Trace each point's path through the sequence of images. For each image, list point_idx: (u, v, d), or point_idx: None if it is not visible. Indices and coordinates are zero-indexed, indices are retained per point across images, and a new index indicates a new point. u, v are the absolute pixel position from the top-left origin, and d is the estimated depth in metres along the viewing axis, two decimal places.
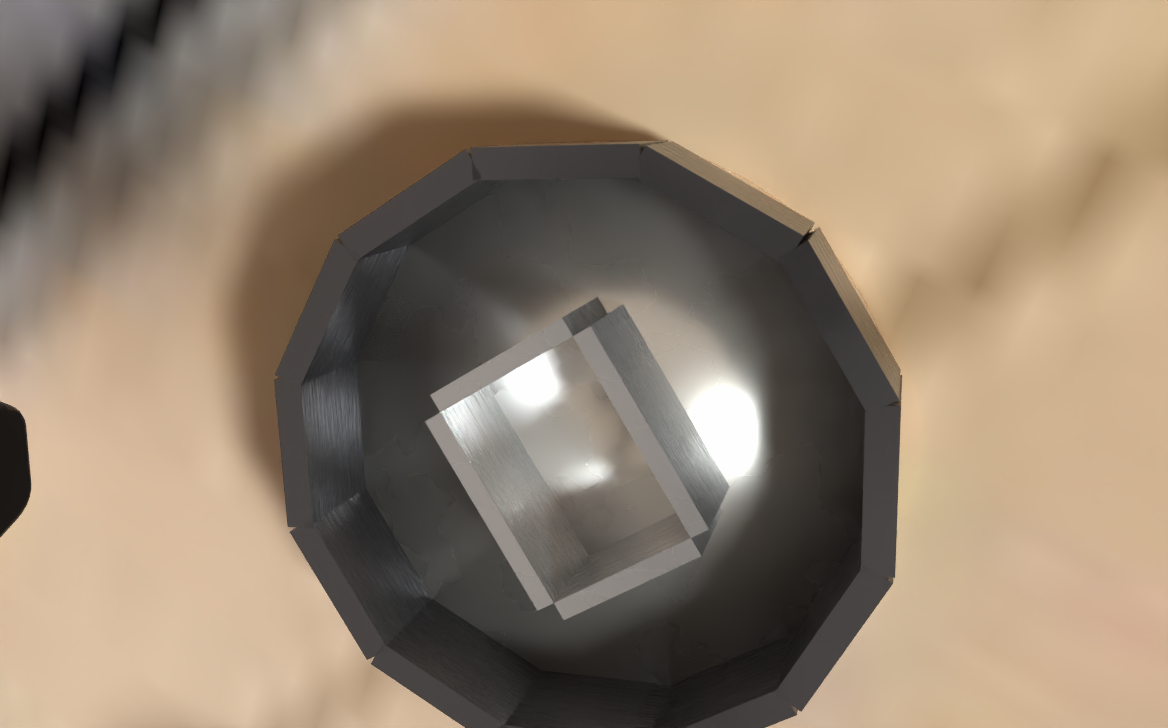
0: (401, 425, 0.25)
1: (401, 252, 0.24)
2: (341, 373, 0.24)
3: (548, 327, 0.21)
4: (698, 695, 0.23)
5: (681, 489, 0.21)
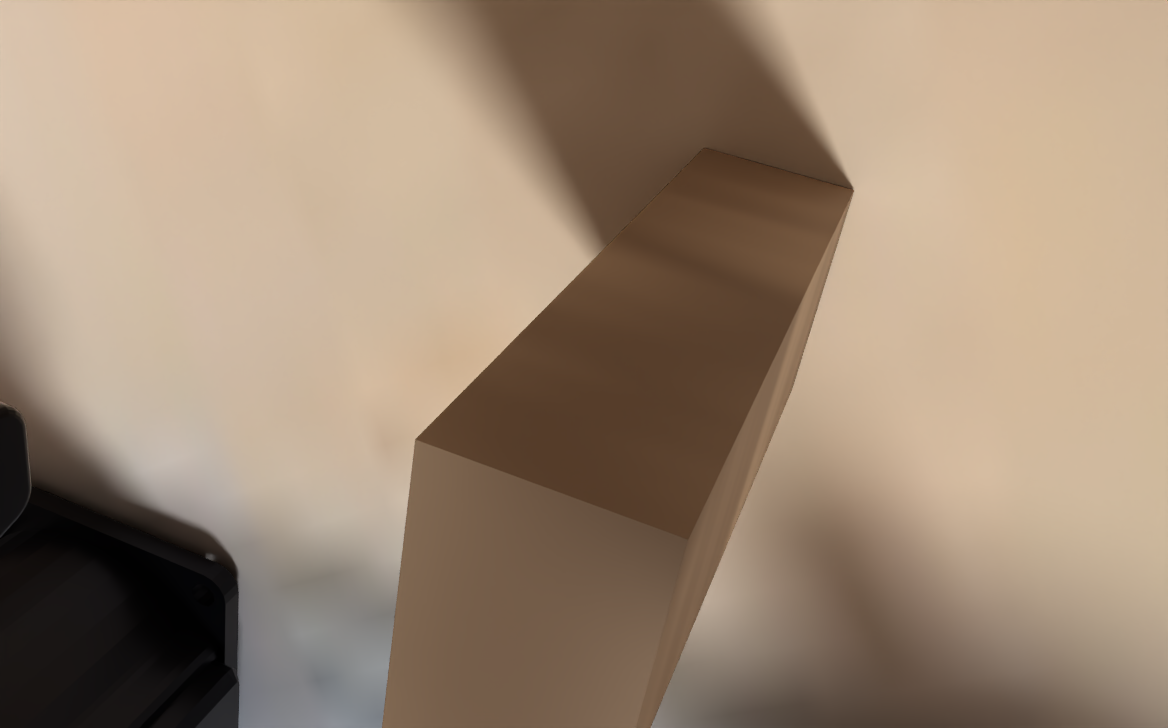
0: None
1: None
2: None
3: None
4: None
5: None
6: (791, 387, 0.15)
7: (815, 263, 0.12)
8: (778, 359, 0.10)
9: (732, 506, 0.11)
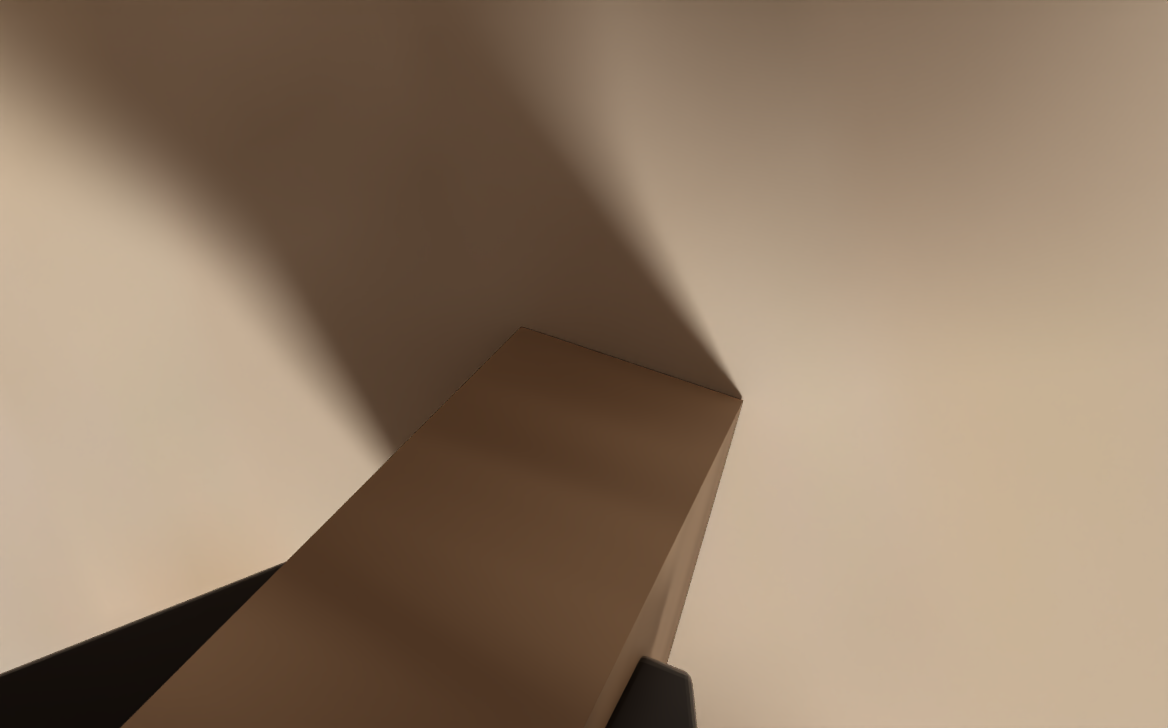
0: None
1: None
2: None
3: None
4: None
5: None
6: None
7: (640, 597, 0.07)
8: None
9: None
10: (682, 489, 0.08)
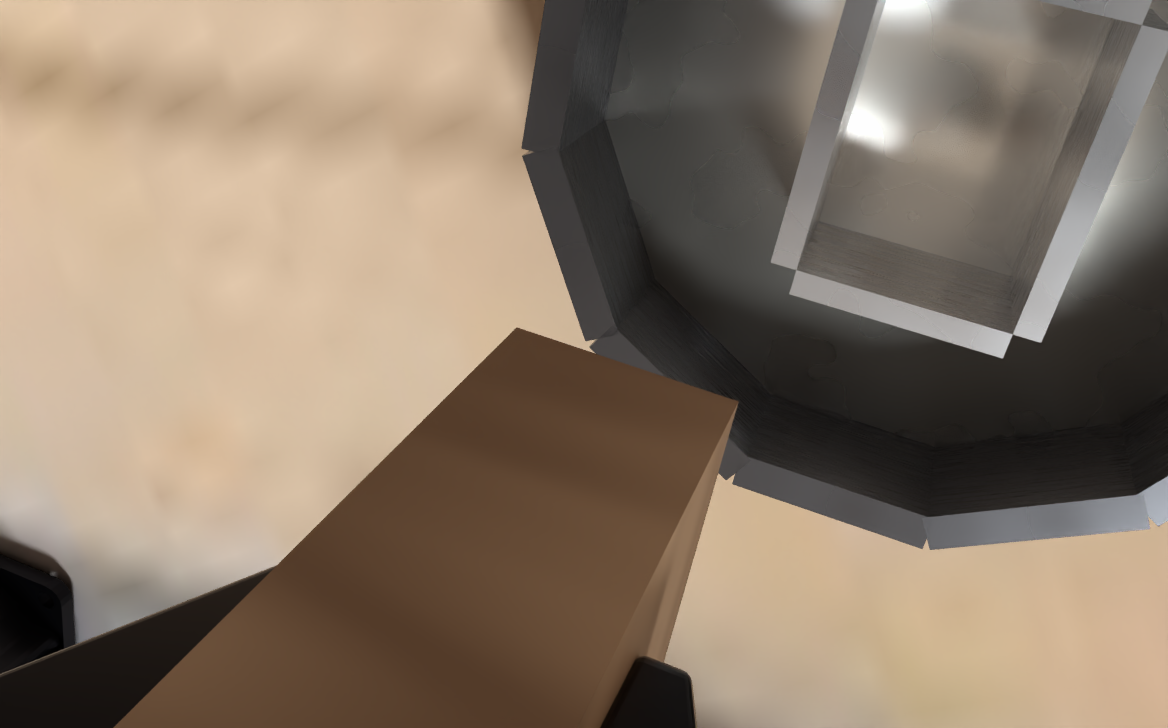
0: None
1: None
2: None
3: None
4: (816, 440, 0.19)
5: (1059, 283, 0.15)
6: None
7: (634, 599, 0.07)
8: None
9: None
10: (677, 491, 0.08)
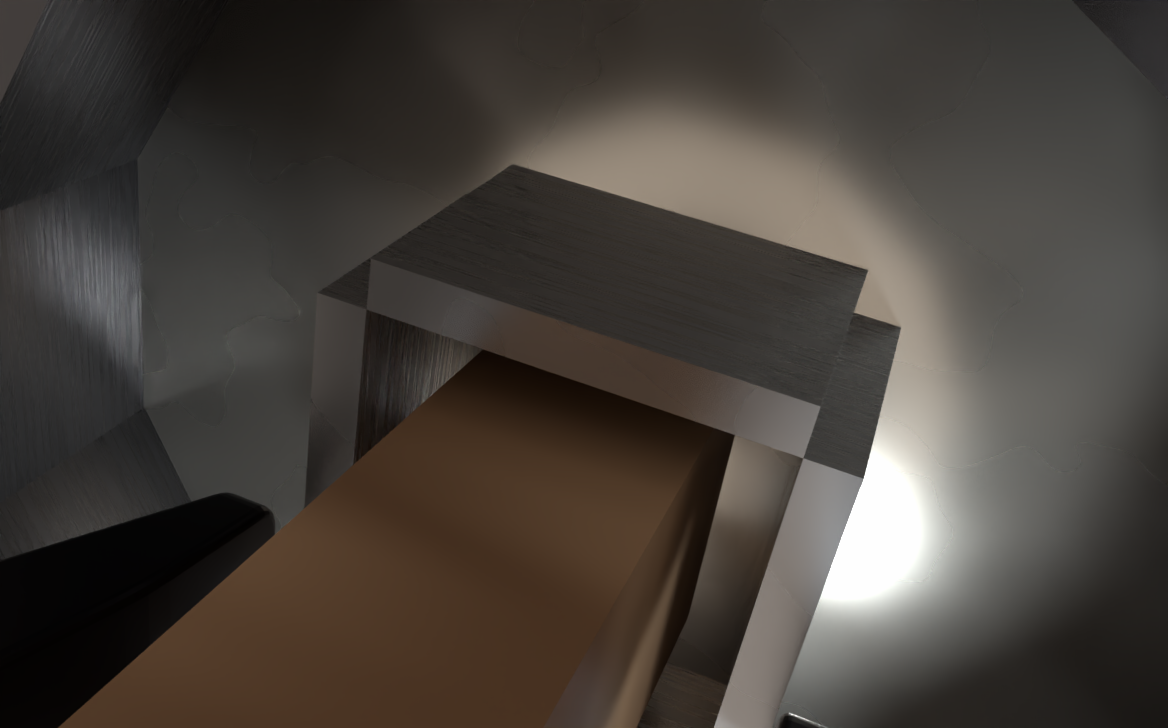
0: (281, 124, 0.10)
1: None
2: None
3: (769, 394, 0.07)
4: None
5: None
6: (684, 618, 0.11)
7: (658, 515, 0.07)
8: None
9: None
10: (697, 428, 0.08)
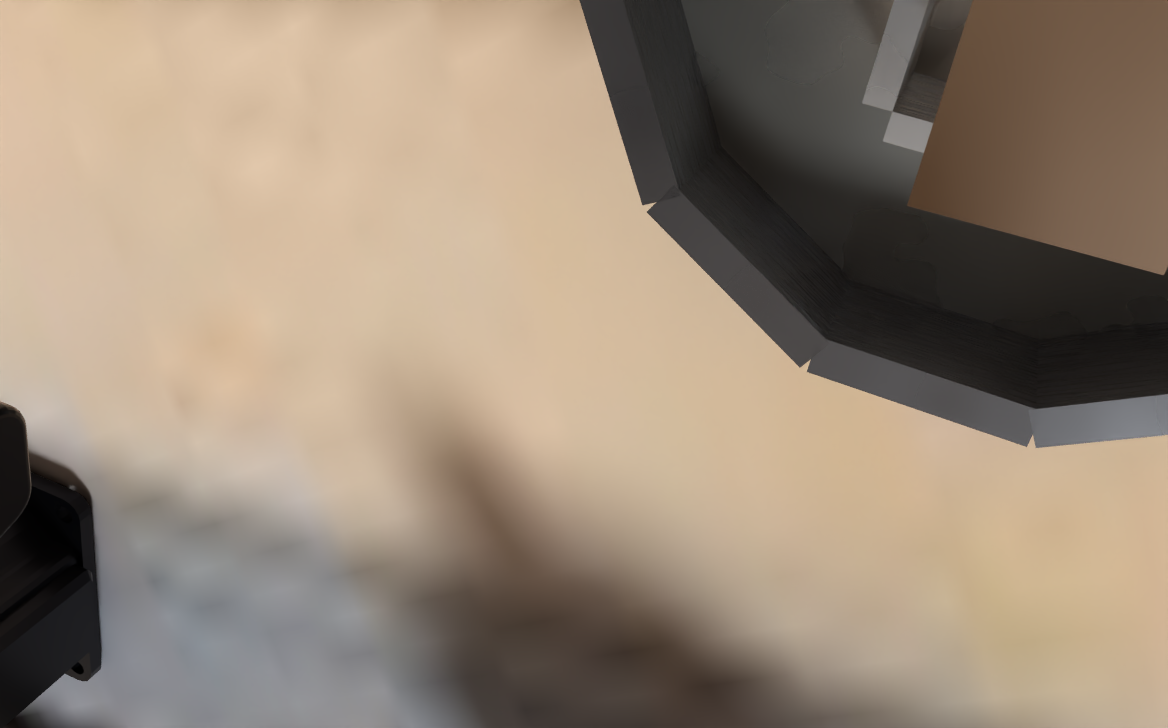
0: None
1: None
2: None
3: None
4: (903, 327, 0.17)
5: None
6: None
7: None
8: None
9: None
10: None
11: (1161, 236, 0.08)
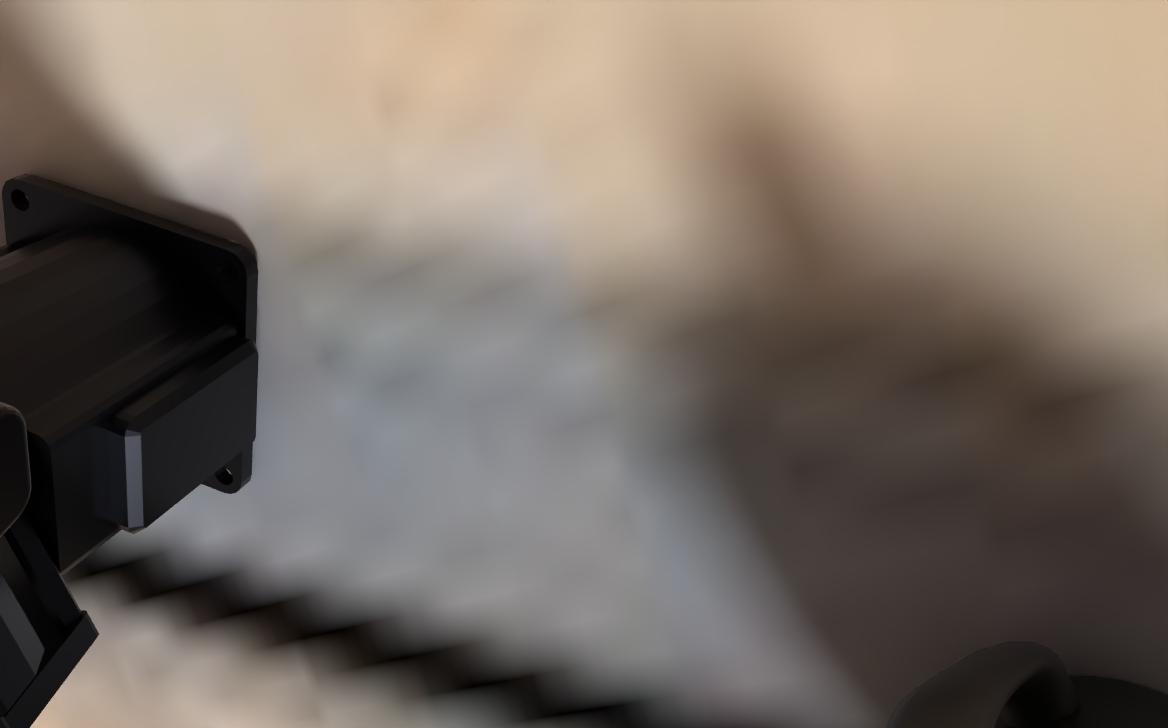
0: None
1: None
2: None
3: None
4: None
5: None
6: None
7: None
8: None
9: None
10: None
11: None
